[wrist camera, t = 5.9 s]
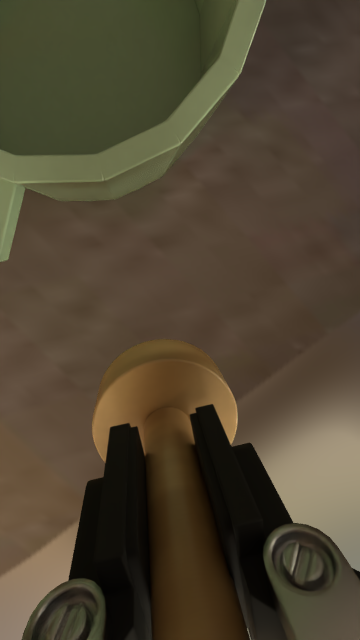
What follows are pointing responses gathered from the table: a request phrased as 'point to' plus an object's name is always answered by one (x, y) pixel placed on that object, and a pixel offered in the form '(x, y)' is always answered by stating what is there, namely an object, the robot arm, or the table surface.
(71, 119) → the pot
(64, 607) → the robot arm
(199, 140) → the table surface
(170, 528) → the disc with rod handle
